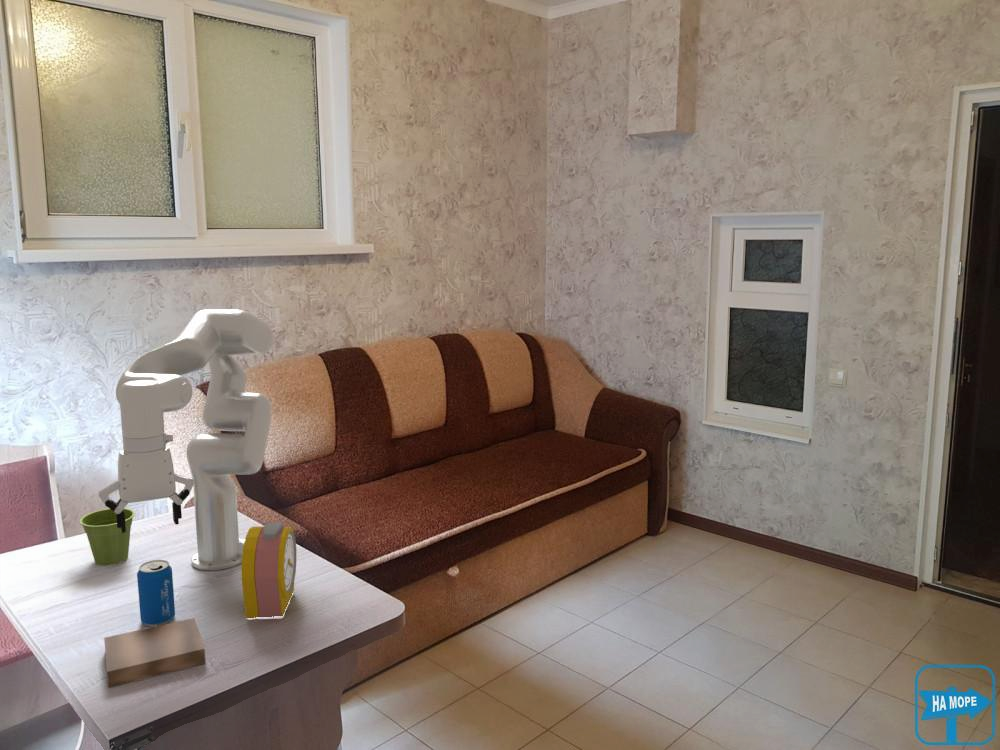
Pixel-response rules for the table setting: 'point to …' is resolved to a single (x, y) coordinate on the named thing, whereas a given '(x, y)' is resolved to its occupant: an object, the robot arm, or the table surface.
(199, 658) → the walnut board
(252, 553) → the alarm clock
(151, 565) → the beverage can
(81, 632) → the table surface
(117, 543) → the plant pot
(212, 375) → the robot arm
